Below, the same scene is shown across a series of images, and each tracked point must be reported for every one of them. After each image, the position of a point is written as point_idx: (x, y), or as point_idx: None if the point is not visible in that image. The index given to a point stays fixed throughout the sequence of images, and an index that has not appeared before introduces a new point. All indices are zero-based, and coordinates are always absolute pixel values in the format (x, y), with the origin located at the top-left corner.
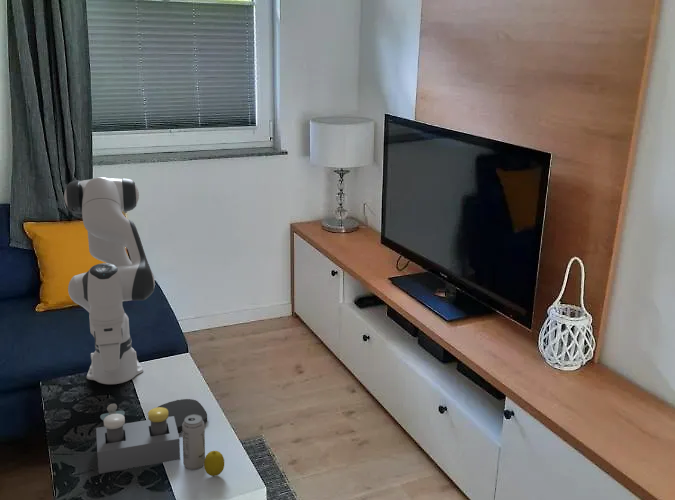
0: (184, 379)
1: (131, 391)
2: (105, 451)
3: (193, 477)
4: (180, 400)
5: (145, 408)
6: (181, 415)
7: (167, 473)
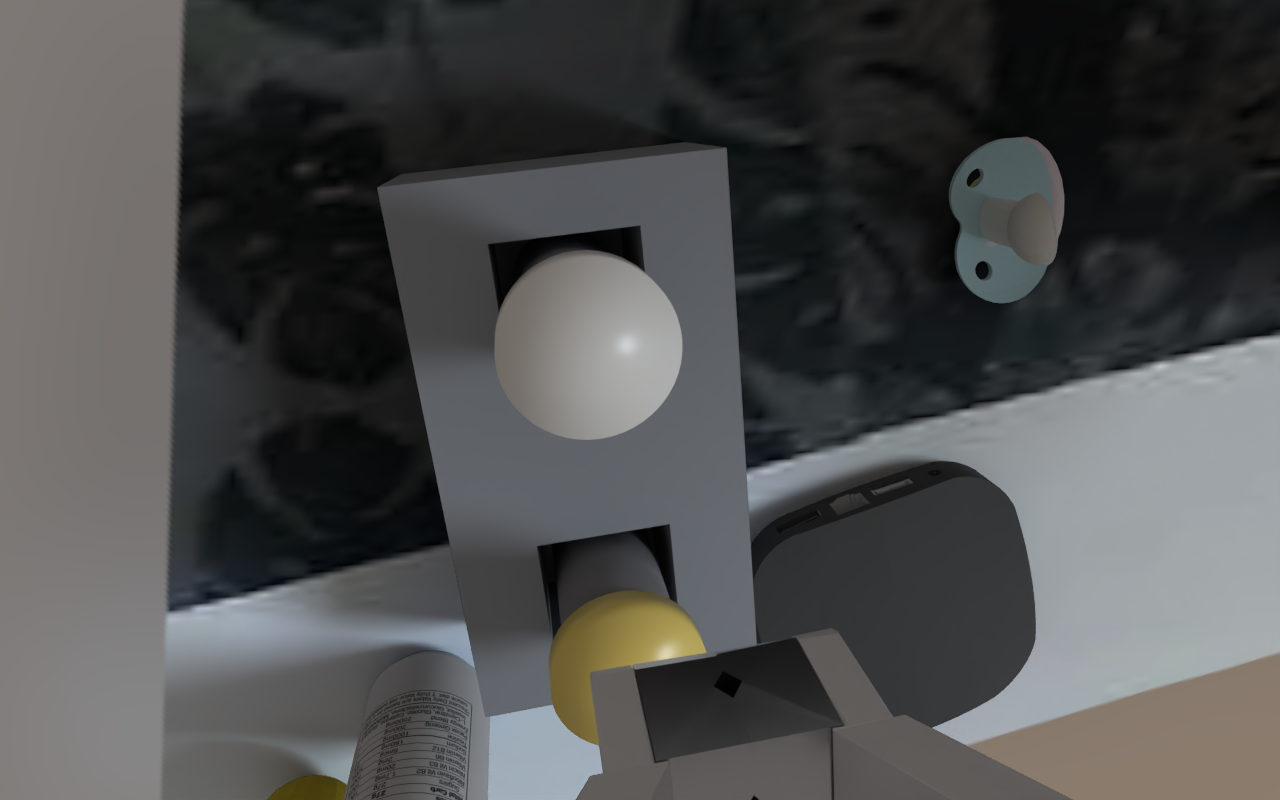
0: (1265, 596)
1: (1265, 309)
2: (391, 249)
3: (316, 693)
4: (1025, 616)
5: (1047, 406)
6: (860, 636)
7: (365, 567)
